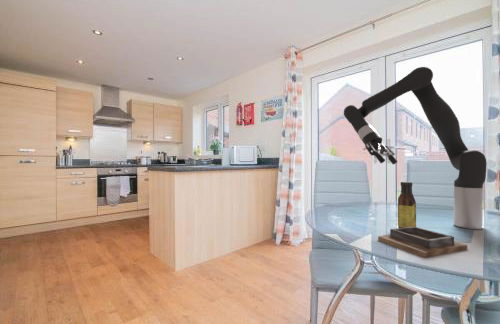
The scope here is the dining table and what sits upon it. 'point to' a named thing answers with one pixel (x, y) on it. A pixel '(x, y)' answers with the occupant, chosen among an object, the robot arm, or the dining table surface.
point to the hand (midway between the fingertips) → (389, 162)
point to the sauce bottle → (406, 206)
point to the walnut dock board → (422, 241)
